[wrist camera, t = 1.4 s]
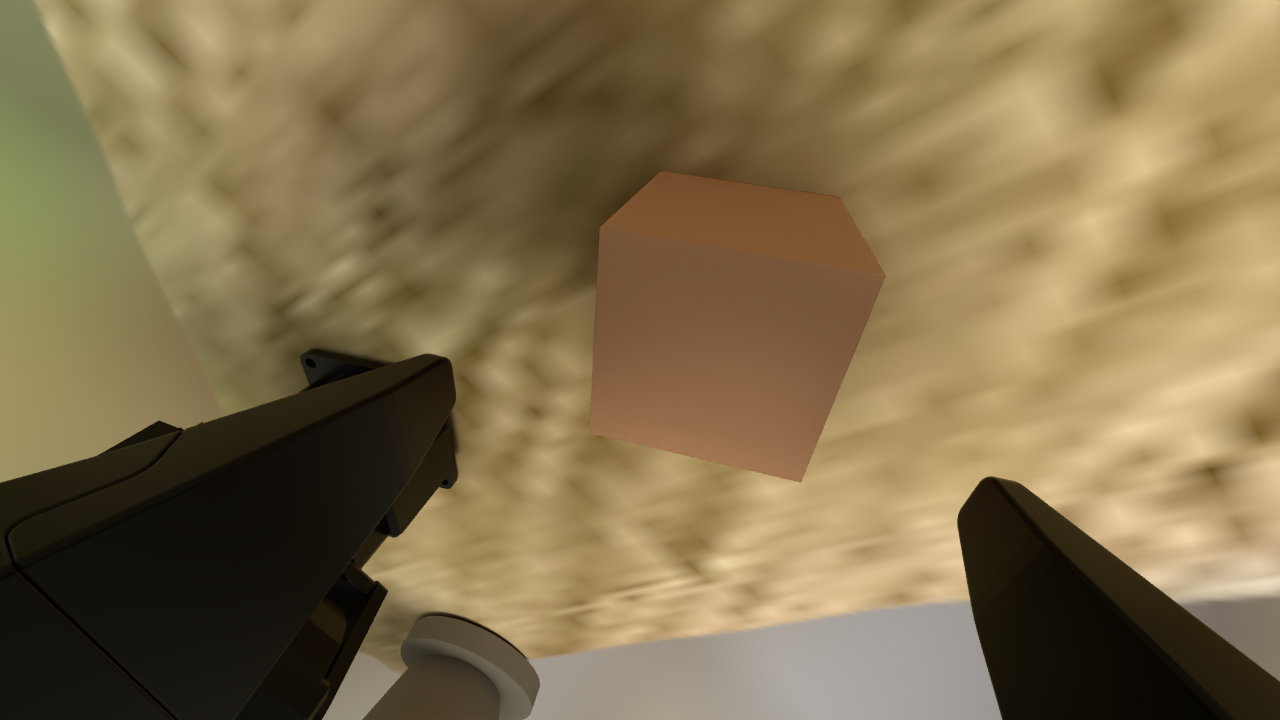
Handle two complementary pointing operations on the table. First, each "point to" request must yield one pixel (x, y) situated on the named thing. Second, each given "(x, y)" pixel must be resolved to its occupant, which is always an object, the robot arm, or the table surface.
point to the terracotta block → (727, 320)
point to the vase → (458, 676)
